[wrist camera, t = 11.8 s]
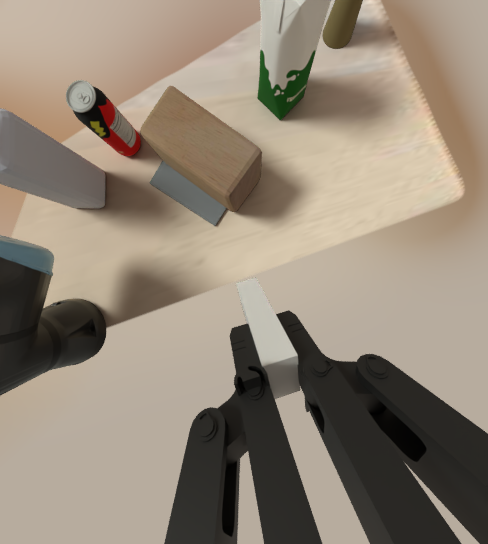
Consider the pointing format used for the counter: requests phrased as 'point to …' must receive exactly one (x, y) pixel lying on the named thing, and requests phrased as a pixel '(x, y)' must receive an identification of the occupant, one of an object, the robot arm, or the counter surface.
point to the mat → (187, 193)
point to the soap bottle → (46, 166)
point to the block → (203, 148)
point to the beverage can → (102, 117)
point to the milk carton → (288, 50)
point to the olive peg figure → (341, 23)
